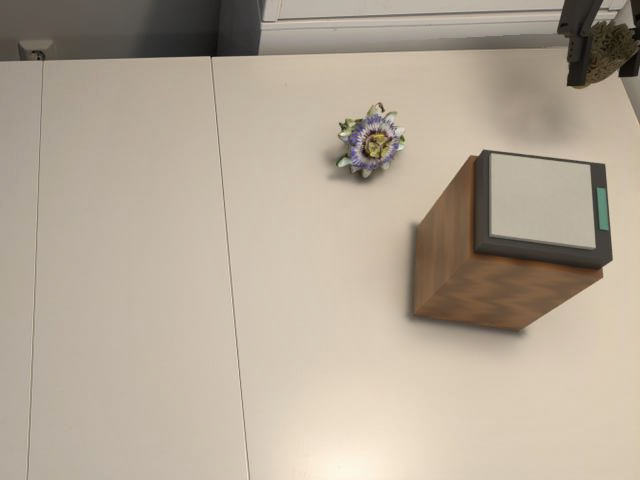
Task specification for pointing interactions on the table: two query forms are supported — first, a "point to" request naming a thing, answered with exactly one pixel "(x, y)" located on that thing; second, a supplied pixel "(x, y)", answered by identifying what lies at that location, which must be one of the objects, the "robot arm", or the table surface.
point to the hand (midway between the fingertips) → (601, 81)
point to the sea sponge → (608, 50)
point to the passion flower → (371, 141)
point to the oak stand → (482, 270)
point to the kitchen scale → (541, 209)
